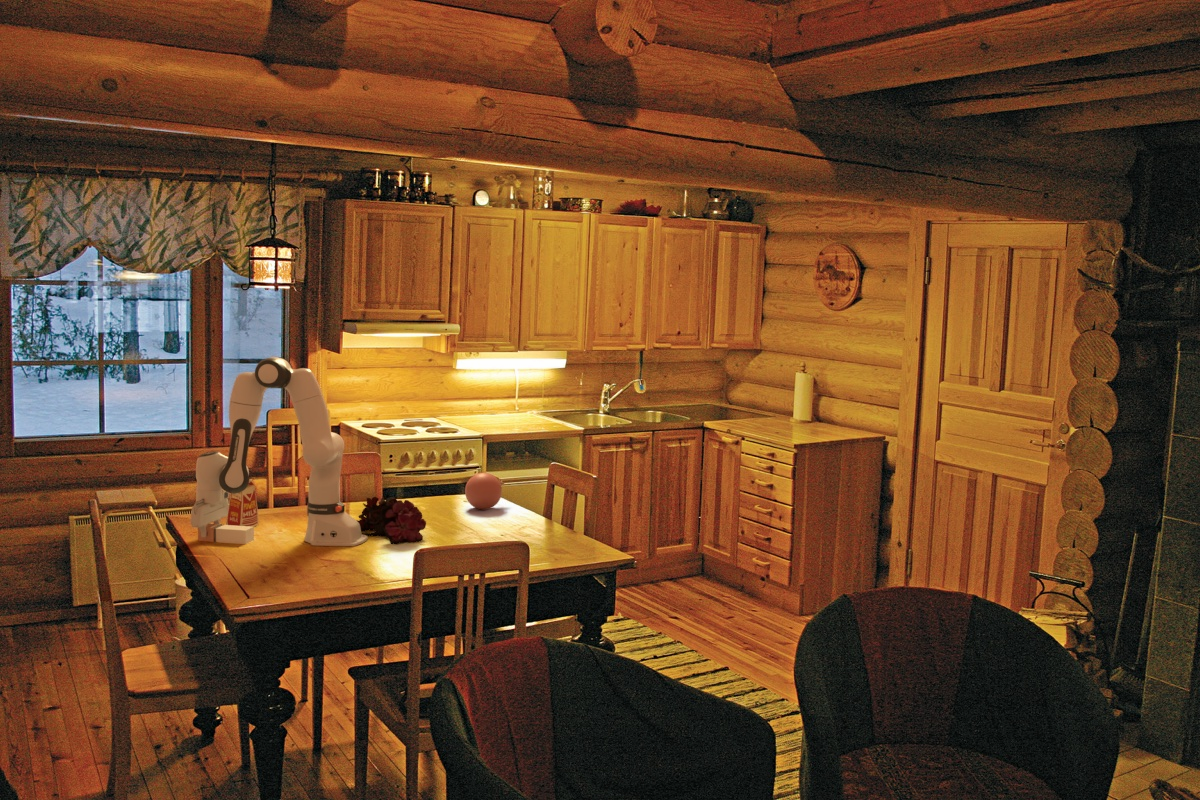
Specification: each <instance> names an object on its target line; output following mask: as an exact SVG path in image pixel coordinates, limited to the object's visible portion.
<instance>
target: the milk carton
mask: <svg viewBox="0 0 1200 800" xmlns="http://www.w3.org/2000/svg"><path fill="white" fill-rule="evenodd" d="M252 481H253V479H251V478H249V484H248V486H247V487H246V489H245V490H243V491H242V492H239V493H229V499H228V502H229V508H228V514H227V516H226V522H225V525H235V526H250V527H254V528H255V527H257V526H258V525H259V523H260V522H259V509H258V501H257V495H256V488H255V487H256V486H255V484H254V482H252Z"/></svg>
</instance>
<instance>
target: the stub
mask: <svg viewBox="0 0 1200 800" xmlns="http://www.w3.org/2000/svg"><path fill="white" fill-rule="evenodd" d="M220 525H223V523H220V524H214V523H210V524H207V525H206V531H208V536H206V537H201V531H200V529H199V527H197V541H199V542H208V543H209V542H210V543H211V542H212V543H215V542H214V528H216V527H218V526H220Z"/></svg>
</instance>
